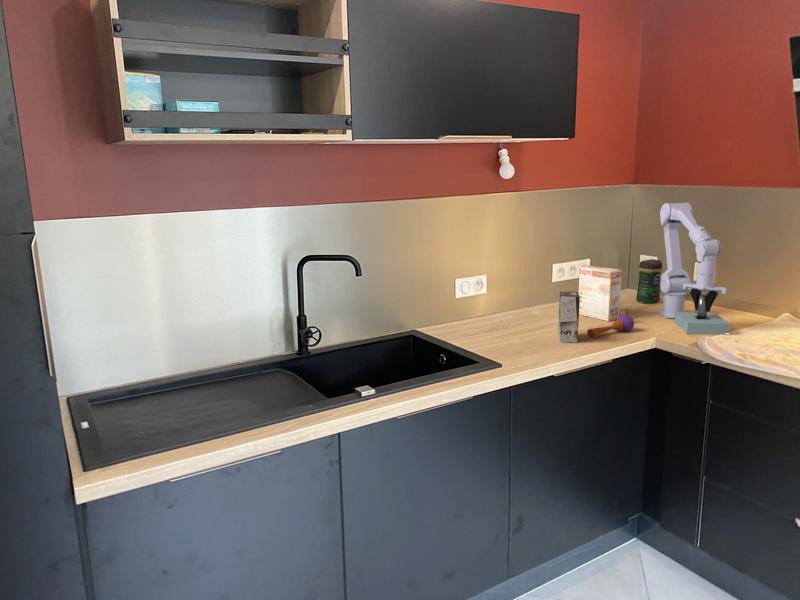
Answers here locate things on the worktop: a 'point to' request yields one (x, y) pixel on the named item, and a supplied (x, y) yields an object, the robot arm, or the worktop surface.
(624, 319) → the kendama
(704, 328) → the hole block
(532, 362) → the worktop surface
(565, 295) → the coffee box
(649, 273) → the coffee jar
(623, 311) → the short pin
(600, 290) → the coffeecake box
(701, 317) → the long pin
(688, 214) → the robot arm
